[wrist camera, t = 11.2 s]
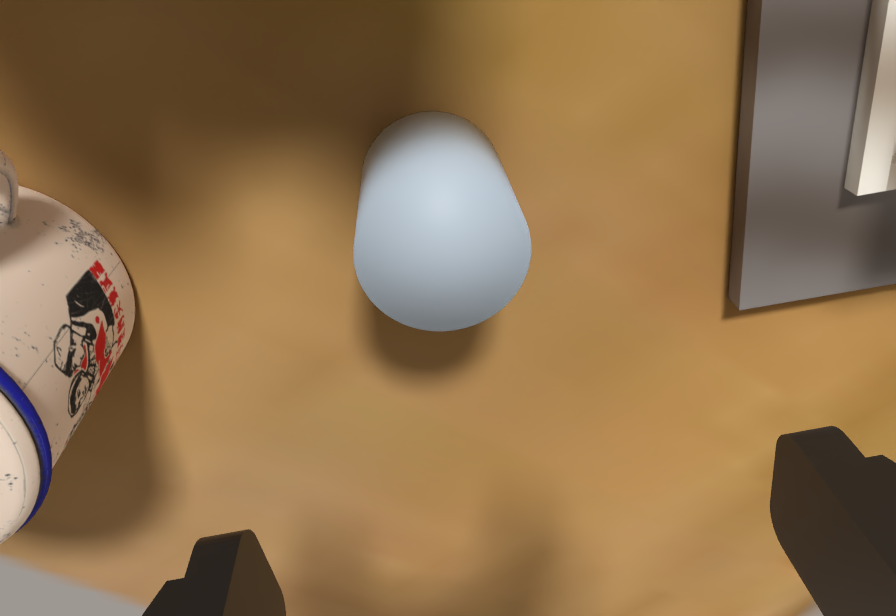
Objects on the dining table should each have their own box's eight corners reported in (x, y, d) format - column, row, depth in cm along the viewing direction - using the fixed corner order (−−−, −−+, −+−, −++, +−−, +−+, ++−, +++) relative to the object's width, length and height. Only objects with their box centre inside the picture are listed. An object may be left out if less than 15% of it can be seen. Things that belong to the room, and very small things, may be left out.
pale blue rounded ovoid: (346, 124, 23) (334, 188, 18) (492, 99, 23) (521, 155, 18) (377, 255, 26) (374, 344, 21) (508, 232, 26) (538, 315, 20)
